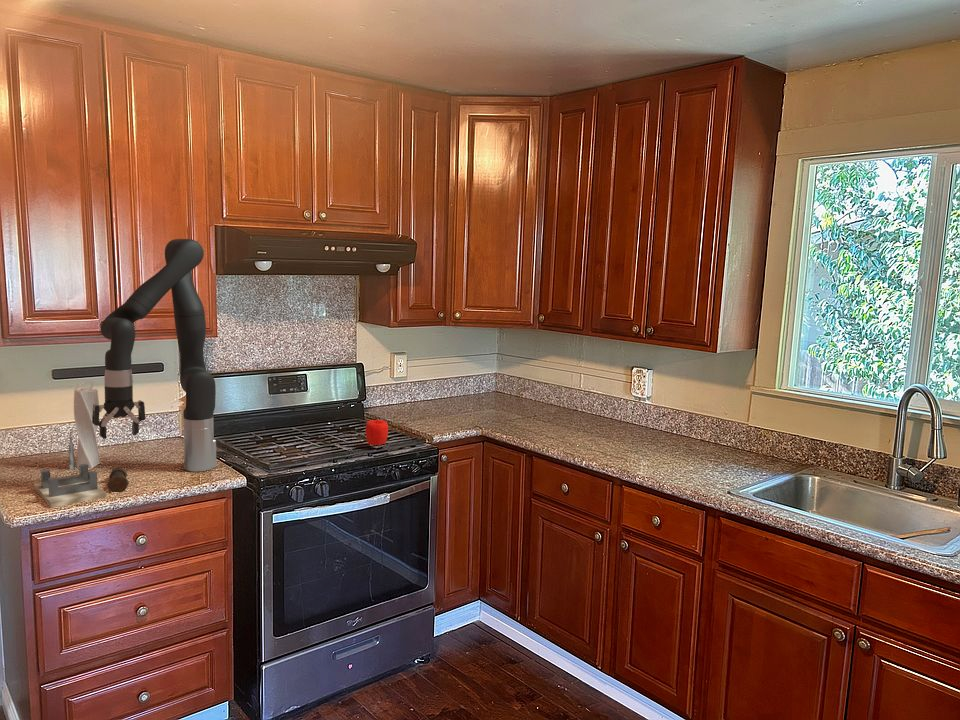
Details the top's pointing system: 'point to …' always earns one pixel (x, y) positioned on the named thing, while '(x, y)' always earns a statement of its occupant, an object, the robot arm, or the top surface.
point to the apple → (376, 432)
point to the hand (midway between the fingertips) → (119, 436)
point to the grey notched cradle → (69, 482)
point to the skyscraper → (85, 428)
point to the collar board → (68, 496)
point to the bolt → (118, 480)
